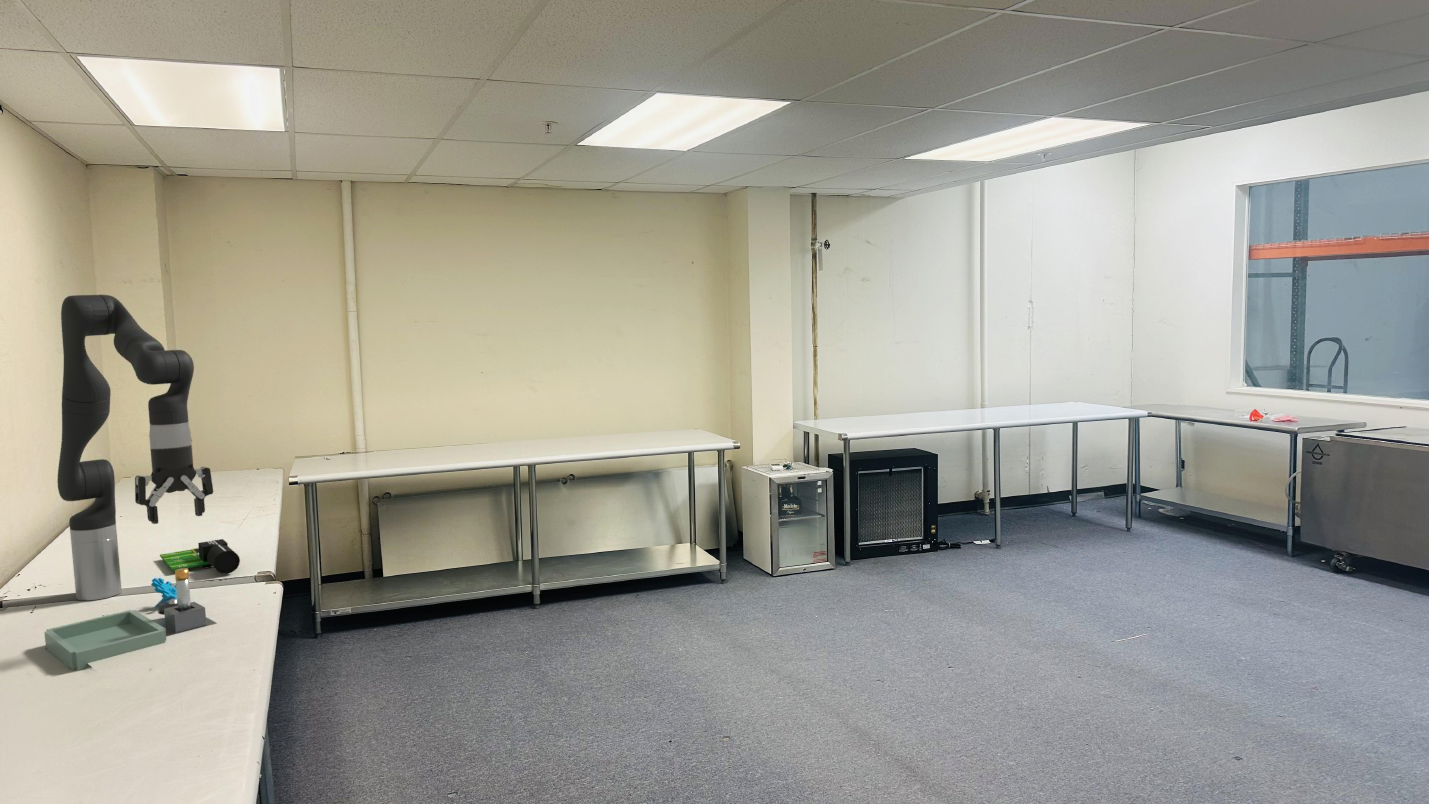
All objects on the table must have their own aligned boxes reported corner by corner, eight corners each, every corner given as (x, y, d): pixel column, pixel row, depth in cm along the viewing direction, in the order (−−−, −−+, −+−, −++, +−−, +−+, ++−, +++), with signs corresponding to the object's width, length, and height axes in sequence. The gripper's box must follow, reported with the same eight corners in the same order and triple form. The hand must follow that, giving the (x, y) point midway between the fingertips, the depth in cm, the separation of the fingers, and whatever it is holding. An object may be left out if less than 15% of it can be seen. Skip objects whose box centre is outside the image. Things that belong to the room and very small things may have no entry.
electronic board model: (158, 536, 246) (218, 527, 256) (160, 560, 247) (220, 550, 257) (178, 558, 224) (244, 547, 233) (180, 585, 224) (246, 572, 234)
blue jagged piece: (185, 606, 202) (149, 578, 201) (165, 627, 201) (129, 599, 199) (199, 598, 213) (165, 571, 211) (180, 617, 212) (146, 591, 210)
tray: (44, 646, 183) (42, 630, 183) (134, 624, 196) (133, 609, 196) (74, 671, 170) (72, 654, 170) (168, 646, 183) (167, 629, 182)
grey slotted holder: (144, 627, 194) (142, 602, 194) (194, 614, 202) (192, 591, 201) (166, 640, 186) (164, 615, 185) (217, 627, 193) (215, 603, 193)
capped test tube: (177, 626, 192) (173, 570, 190) (190, 623, 194) (185, 567, 192) (181, 628, 190) (177, 572, 189) (194, 625, 192) (190, 569, 191)
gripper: (200, 439, 196) (206, 511, 197) (126, 447, 185) (133, 523, 186) (214, 441, 191) (219, 515, 192) (139, 450, 180) (145, 528, 181)
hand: (177, 519), depth 189 cm, fingers open, 8 cm apart
